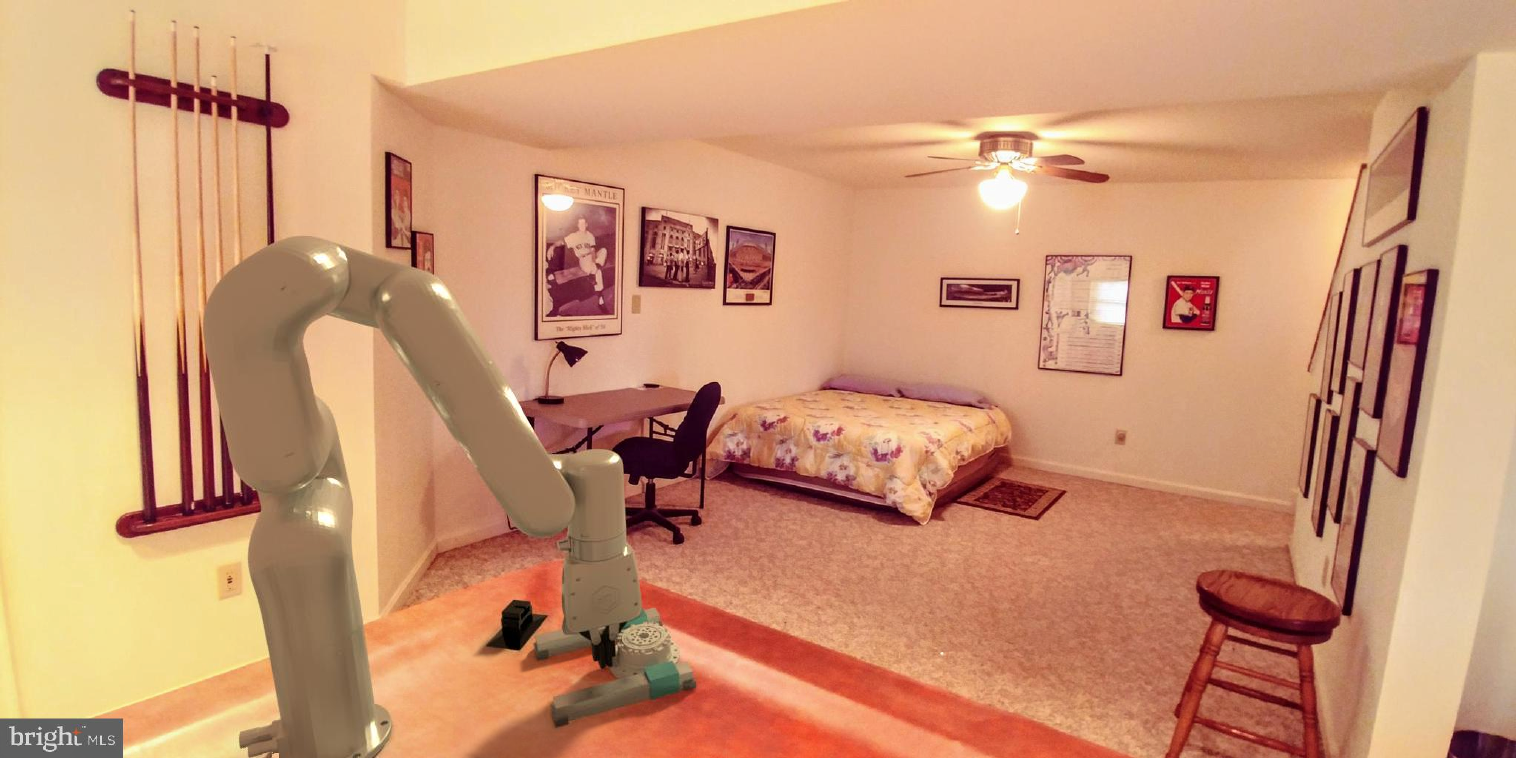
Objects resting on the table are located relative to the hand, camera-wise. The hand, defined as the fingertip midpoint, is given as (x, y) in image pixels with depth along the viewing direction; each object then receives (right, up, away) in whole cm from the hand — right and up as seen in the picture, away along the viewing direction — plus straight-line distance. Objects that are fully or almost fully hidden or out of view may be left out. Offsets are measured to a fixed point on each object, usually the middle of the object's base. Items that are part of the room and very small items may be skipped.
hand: (604, 662), depth 102 cm
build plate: (-15, +1, +10) cm, 18 cm away
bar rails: (+1, -1, +1) cm, 1 cm away
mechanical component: (+5, -1, +2) cm, 6 cm away
